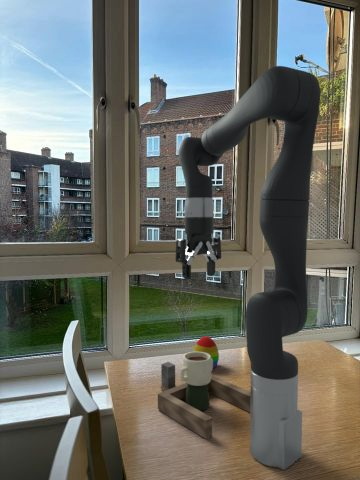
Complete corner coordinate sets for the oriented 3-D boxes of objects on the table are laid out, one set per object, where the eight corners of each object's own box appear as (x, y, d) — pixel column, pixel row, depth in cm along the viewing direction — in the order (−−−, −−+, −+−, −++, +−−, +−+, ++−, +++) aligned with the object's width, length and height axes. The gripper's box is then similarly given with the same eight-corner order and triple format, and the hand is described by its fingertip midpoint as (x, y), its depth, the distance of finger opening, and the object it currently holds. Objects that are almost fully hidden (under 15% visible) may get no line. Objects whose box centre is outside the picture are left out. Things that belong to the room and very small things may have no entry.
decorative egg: (189, 370, 121) (189, 339, 120) (198, 361, 128) (198, 331, 127) (214, 374, 117) (214, 342, 117) (221, 364, 125) (221, 334, 124)
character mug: (202, 394, 104) (202, 347, 103) (222, 404, 98) (222, 354, 98) (171, 408, 97) (171, 357, 96) (190, 419, 91) (190, 365, 91)
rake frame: (258, 411, 95) (258, 383, 94) (205, 438, 83) (205, 407, 82) (188, 378, 114) (188, 355, 114) (138, 397, 102) (138, 371, 102)
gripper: (188, 215, 93) (188, 282, 94) (228, 215, 102) (228, 276, 103) (168, 215, 98) (169, 278, 99) (208, 215, 108) (208, 273, 109)
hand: (199, 277), depth 101 cm, fingers open, 8 cm apart
